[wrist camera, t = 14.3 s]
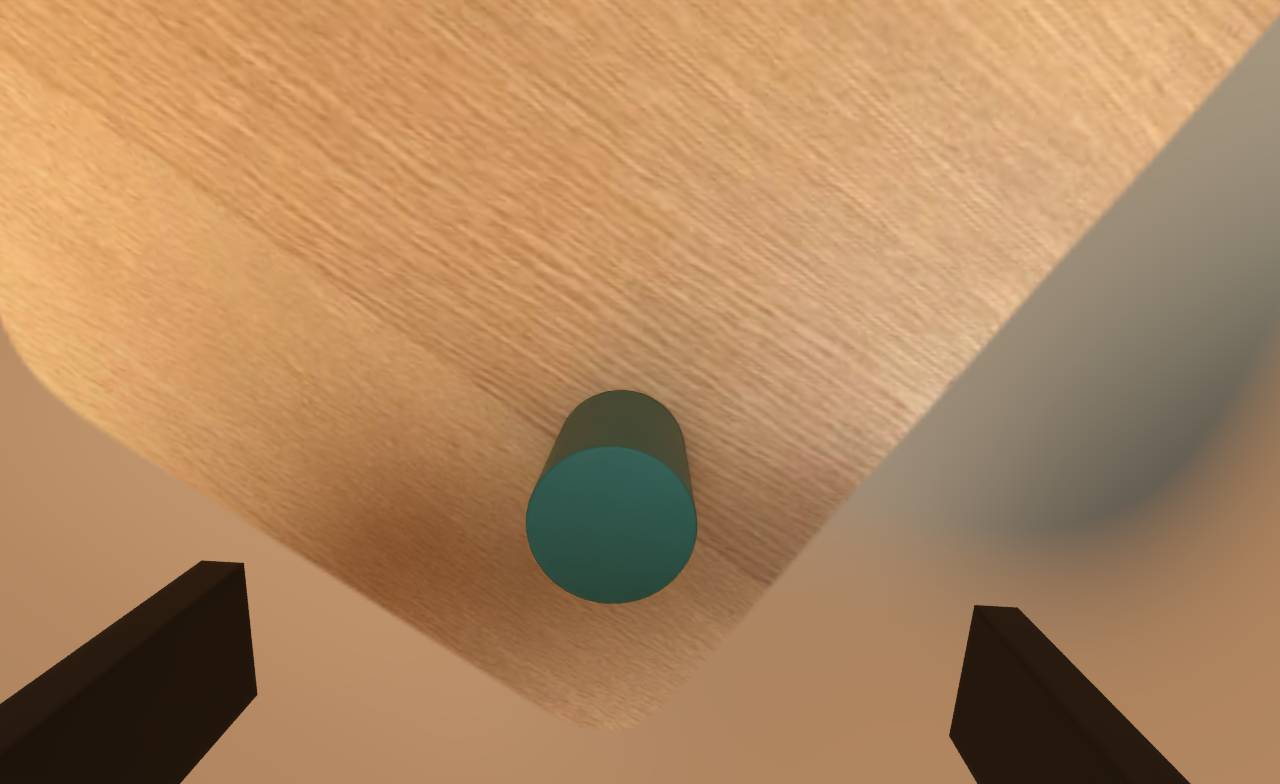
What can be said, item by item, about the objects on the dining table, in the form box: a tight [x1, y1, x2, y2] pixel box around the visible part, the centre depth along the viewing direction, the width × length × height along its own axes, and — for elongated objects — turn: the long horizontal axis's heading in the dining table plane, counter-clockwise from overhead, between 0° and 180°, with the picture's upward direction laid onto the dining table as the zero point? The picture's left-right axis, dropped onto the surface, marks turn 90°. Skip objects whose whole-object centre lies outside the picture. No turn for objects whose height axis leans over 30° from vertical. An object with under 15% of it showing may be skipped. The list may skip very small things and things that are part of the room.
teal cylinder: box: [526, 390, 697, 604], centre depth 19 cm, size 4×4×6 cm
